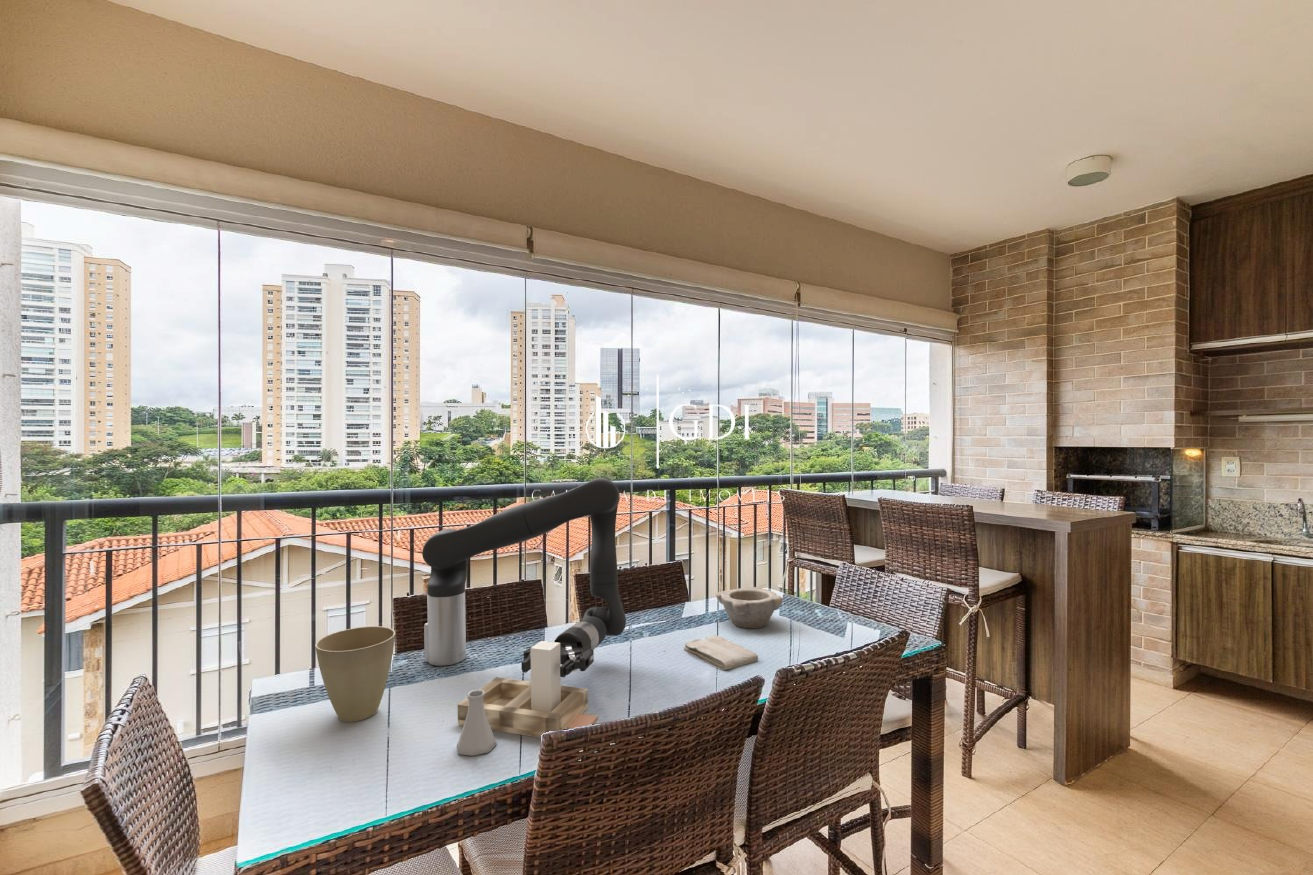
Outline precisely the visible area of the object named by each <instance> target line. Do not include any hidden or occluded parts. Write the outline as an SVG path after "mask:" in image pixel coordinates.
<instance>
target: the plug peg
mask: <svg viewBox="0 0 1313 875" xmlns="http://www.w3.org/2000/svg"><path fill="white" fill-rule="evenodd" d="M531 647H532V648H531ZM531 647H530V648H531V669H530V682H531V710H535V711H541V712H548V713H551V712H552V711H553V710H554V709H555V708H556V707H557V706H558V705H559V704H560V703H561V686H562V682H561V680H562V679H561V678H562V677H560V667H561V664H560V643H557V642H554V641H547V640H546V641H545V640H540V641H539V642H537V643H535V644H534V645H533V646H531Z"/></svg>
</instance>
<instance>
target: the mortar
mask: <svg viewBox="0 0 1313 875" xmlns="http://www.w3.org/2000/svg"><path fill="white" fill-rule="evenodd" d="M715 596H716V599H717V600H718V602H719V603H720V604H721V605H723V608H724V610H725V612H726V614H727V616H728V618H729V619H730V621H731V622H732V624H734V625H735V626H737V627H740V628H745V629H759V628H763V627H765V626H766V625H767V624H769V622H770V621H771V618H772V617H773V614H774V612H775V611H777V610H778V609H779V608H780V607H781V605H782V604H783V598H782V596H780V595H777V593H776V592H775V591H772V590H769V589H767V588H762V587H758V586H753V587H743V588H734V589H728V590H721V591H717V592H716V595H715Z"/></svg>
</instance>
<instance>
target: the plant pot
mask: <svg viewBox="0 0 1313 875" xmlns="http://www.w3.org/2000/svg"><path fill="white" fill-rule="evenodd" d="M395 638H396V631H395V630H394V629H393V628H392V627H391V628H390V627H388V626H381V625H380V626H378V625H375V626H374V625H372V626H359V627H352V628H348V629H343V630H339V631H335V632H332V633H328V634H327V635H325V636H323V637H321V638H319V639H318V640H317V641H316V642H315V645H314V647H315V653H316V658H317V662H318V666H319V672H320V675H321V679H322V680H323V681H322V682H323V685H324V687H325V691H326V694H327V696H328V698H329V702H330V703H331V705H332V708H333V710H334V712H335V714H336V716H337V717H338V720H340V721H341V722H345V723H351V722H359V721H363V720H365V719H368V718H370V717H372V716H373V715H375V714H376V713H377V712H378V710H379V707H380V704H381V701H382V698H383V695H384V692H385V689H386V685H387V682H388V679H389V678H388V677H389V674H390V669H391V664H392V659H393V653H394V646H395Z"/></svg>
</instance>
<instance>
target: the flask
mask: <svg viewBox="0 0 1313 875" xmlns="http://www.w3.org/2000/svg"><path fill="white" fill-rule="evenodd" d="M466 696H467V698H468V699H469V707H468V713H467V717H466V720H465V723H464V725H462V730H461V732H460V735H459V739H458V741H457V743H456V750H457V754H458V755H462V756H464V755H465V756H477V755H483V754H486V753H491V752H490V751H491V750H492V749H494V747H495V746H496V745H497V742H496V738H495V735H494V733H493V730H491V728H490V725H489V723H488V720H487V717H486V714H485V710H484V704H483V697H484V696H485V692H484V690H479V689H475V690H474V689H473V690H470V691H469V692H467V694H466Z"/></svg>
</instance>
